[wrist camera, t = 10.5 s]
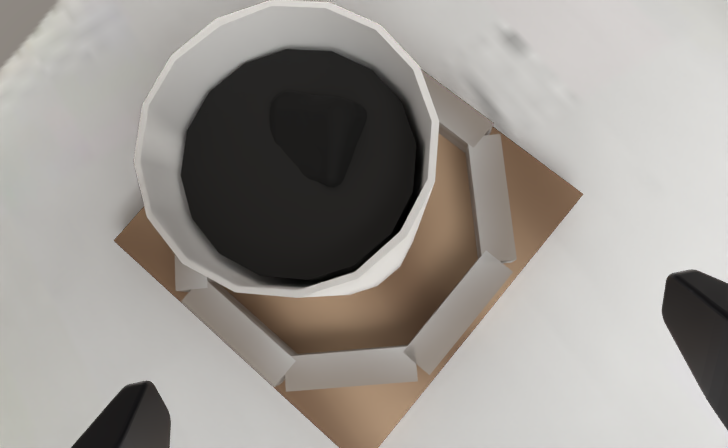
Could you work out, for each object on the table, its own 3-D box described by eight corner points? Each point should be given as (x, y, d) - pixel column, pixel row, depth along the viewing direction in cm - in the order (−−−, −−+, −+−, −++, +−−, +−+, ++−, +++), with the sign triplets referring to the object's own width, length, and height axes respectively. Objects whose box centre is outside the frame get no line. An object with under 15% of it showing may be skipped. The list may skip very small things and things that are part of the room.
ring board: (364, 461, 21) (358, 477, 19) (126, 243, 24) (97, 236, 21) (575, 199, 22) (593, 186, 20) (327, 14, 24) (319, -16, 22)
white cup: (286, 120, 23) (190, -30, 13) (447, 161, 22) (476, 35, 12) (235, 279, 22) (90, 248, 12) (401, 328, 21) (390, 339, 11)
